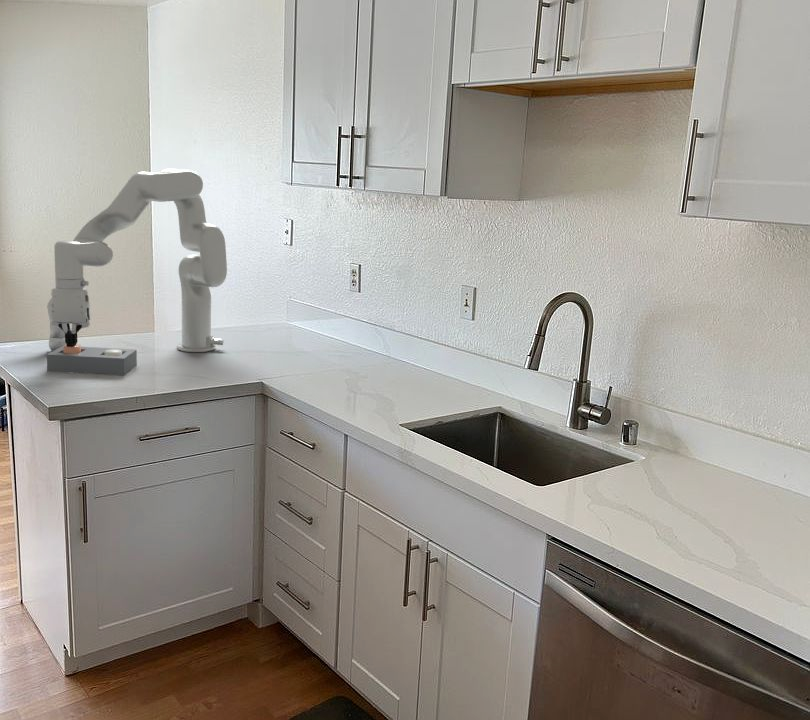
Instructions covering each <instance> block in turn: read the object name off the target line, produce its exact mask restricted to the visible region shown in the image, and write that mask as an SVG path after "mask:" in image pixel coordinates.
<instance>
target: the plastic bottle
mask: <svg viewBox="0 0 810 720" xmlns="http://www.w3.org/2000/svg"><path fill="white" fill-rule="evenodd" d="M53 289H54V288H51V290H50V291H51V292H50V294H51V295H50V296H52V294H53ZM51 301H52V297H51V298H50V299H49V301H48V302H47V305H46V308H47V314H48V318H49V319H48V321H49V339H48V347H49V349H50V351H51V352H52V351H54V350H56V349H58V348H60V347H61V346H64V345H67V343H65V333H64V332H63V330H62V329H61V328H60V327H57V326H54V325H52V324H51V323H52V319H51Z"/></svg>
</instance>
